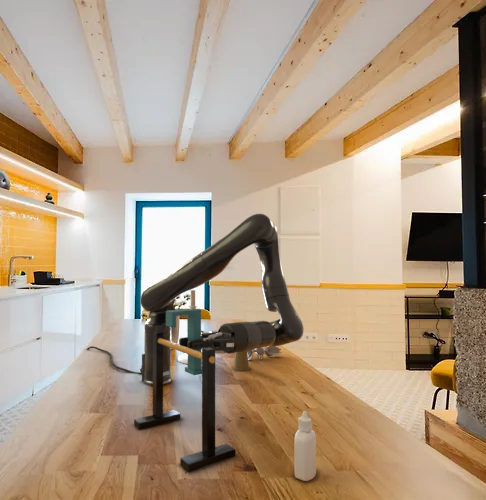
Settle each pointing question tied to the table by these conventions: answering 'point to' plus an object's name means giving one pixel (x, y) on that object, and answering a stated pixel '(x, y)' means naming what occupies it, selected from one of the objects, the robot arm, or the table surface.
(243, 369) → the cork
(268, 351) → the ornate silver scepter
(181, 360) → the candlestick
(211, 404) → the rack
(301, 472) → the eye dropper bottle
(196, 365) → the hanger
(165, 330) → the robot arm
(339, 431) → the table surface
